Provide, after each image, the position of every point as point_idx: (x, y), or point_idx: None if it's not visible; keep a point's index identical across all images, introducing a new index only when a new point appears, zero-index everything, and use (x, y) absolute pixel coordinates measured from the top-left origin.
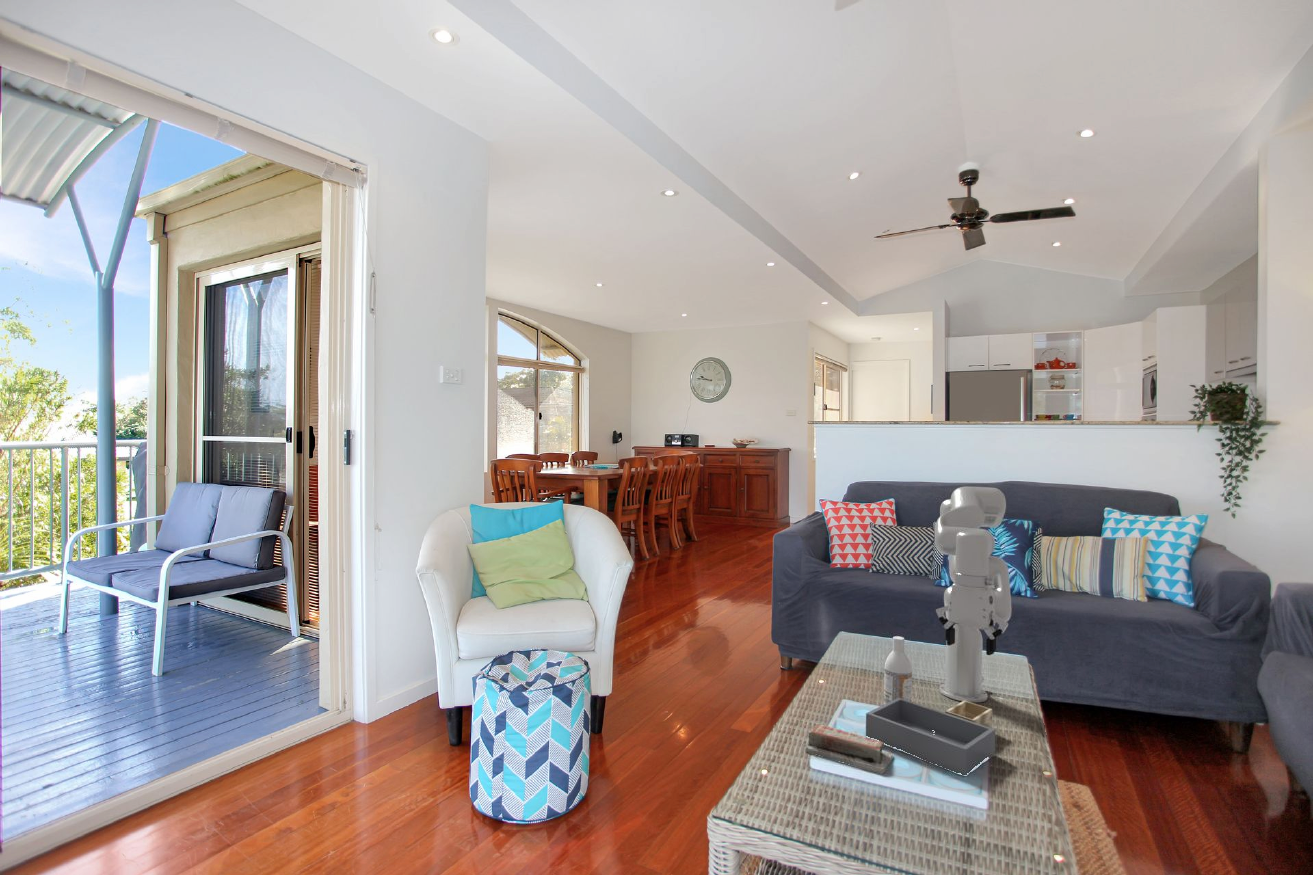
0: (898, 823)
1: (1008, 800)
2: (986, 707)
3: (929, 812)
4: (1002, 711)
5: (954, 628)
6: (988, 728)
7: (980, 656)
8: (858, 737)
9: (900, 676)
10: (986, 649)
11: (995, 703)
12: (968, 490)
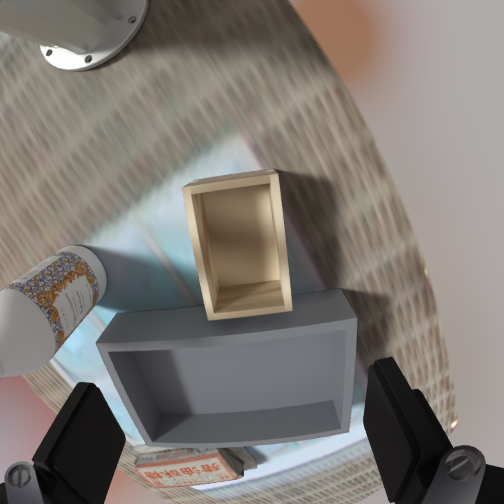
0: (327, 491)
1: None
2: (259, 178)
3: (340, 469)
4: (212, 13)
5: (46, 461)
6: (343, 327)
7: None
8: (198, 475)
9: (57, 350)
10: (371, 445)
11: None
12: None
